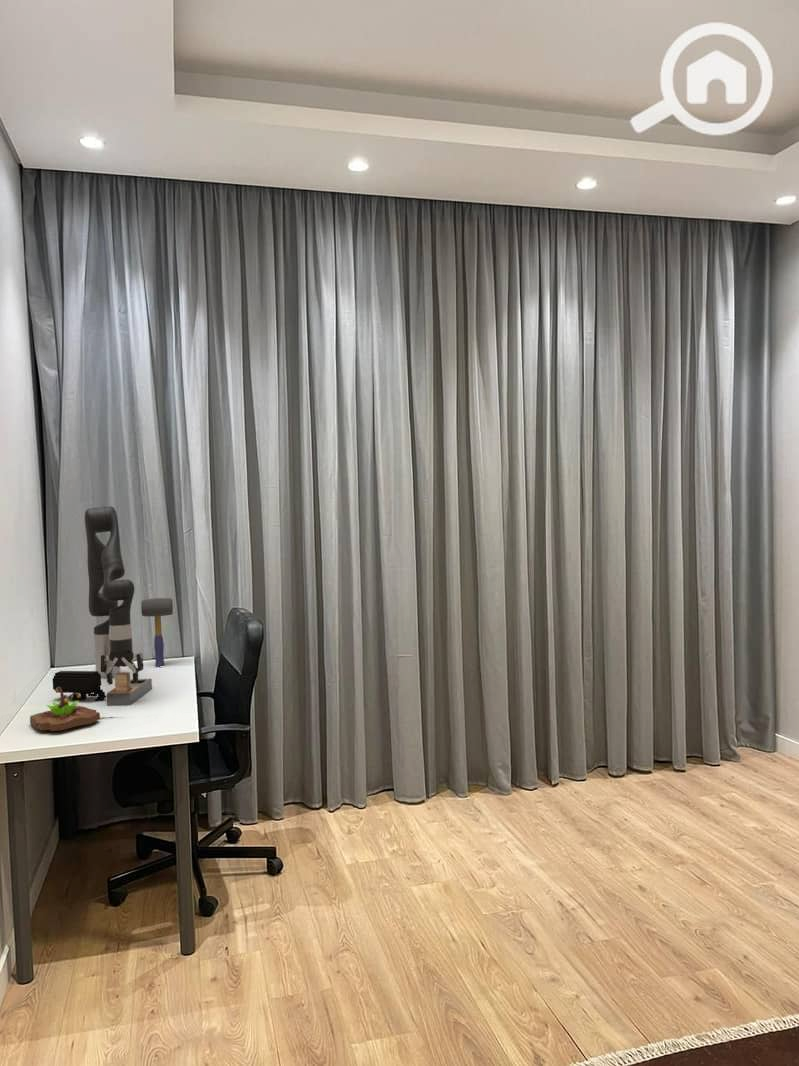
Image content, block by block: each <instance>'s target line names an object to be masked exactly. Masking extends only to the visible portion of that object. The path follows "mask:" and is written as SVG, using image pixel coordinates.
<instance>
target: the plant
mask: <svg viewBox="0 0 799 1066" xmlns="http://www.w3.org/2000/svg"><path fill="white" fill-rule="evenodd" d="M56 691H57V692H59V691H60V693H59V694H60V699H59V701H57V702H58V703H56V702H52V705H51V704H50V705H49V704H45V706H46V707H47V708H49V709H50V710H46V711H44V712H38V713H35V714H32V715H30V716H29V724H30V725H32V727H34V730H40V731H51V732H55V731H57V732H58V731H64V730H68V729H71V728H75V727H79V726H85V725H90V724H93V723H96V722H97V721H99V720H101V714H100V713H101V712H97V710H96V709H92V708H89V707H86V706H82V705H78V703H79V701H80V700H74V701H73V702H72V703H70V701H69V700H70V699H72V697H73V695H76V696H77V697H78V698H79V697H81V694H80V693H70V694H69V695H67V694H65V693H63V691H62V689H61V687H57V688H56ZM56 691H55V692H56Z"/></svg>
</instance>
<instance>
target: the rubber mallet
mask: <svg viewBox="0 0 799 1066" xmlns="http://www.w3.org/2000/svg"><path fill="white" fill-rule="evenodd" d="M140 602H141V605H140V606H141V607H140V609H141V611H140V612H141V616H142V617H154V639H153V640H154V641H153V642H154V643H153V645H154V647H153V649H154V655H155V663H154V667H155V666H156V667H155V668H157V667H159V668H161V667H160V666H164V665H165V666H166V664H165V659H164V657H165V656H164V655H165V654H164V651H165V648H164V647H165V642H164V637H163V634H162V632H163V631H162V630H163V629H162V617H165V616H172V615H173V614H174V605H173V599H172V598H168V597H167V598H166V597H165V598H163V597H162V598H161V597H159V598H158V597H157V598H147V599H142V600H141V601H140ZM165 666H164V667H165Z"/></svg>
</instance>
